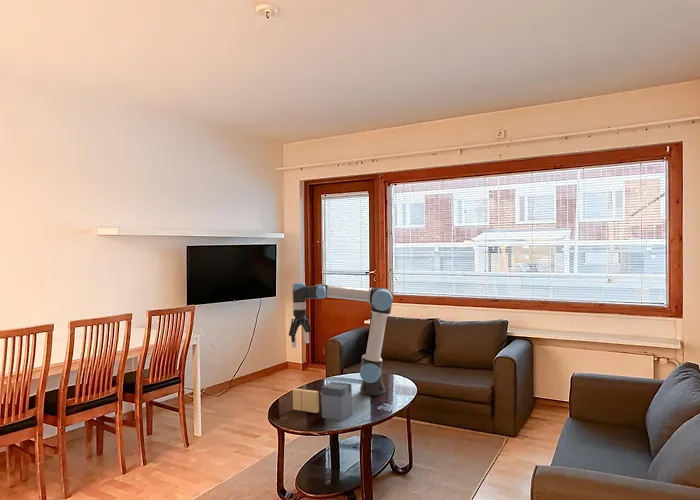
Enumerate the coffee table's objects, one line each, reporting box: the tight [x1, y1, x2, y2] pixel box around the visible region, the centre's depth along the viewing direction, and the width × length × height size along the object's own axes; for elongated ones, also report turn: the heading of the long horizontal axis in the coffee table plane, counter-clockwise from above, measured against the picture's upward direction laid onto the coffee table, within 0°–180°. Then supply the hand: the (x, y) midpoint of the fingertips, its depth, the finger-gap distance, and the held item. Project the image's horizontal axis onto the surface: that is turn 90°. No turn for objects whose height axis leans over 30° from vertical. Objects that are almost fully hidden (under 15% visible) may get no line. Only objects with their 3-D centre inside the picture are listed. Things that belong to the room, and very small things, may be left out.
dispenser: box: [319, 381, 353, 421], centre depth 263 cm, size 13×11×16 cm
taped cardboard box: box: [292, 387, 320, 414], centre depth 272 cm, size 15×3×11 cm, turn 62°
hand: (300, 345), depth 294 cm, fingers open, 13 cm apart
